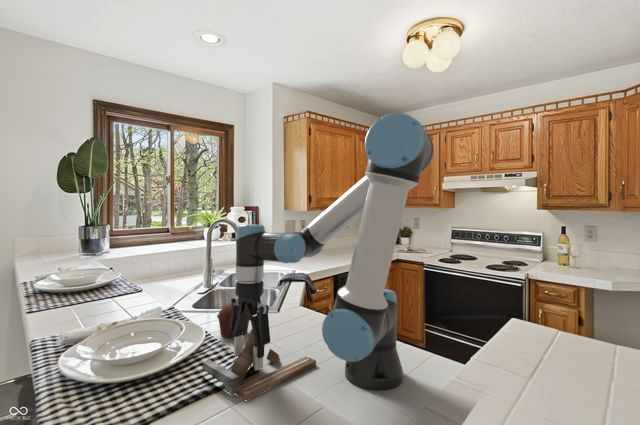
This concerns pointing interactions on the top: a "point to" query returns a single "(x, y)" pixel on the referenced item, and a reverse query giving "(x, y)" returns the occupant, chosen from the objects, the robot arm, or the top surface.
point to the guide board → (260, 383)
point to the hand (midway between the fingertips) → (248, 363)
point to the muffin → (228, 322)
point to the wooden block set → (249, 358)
